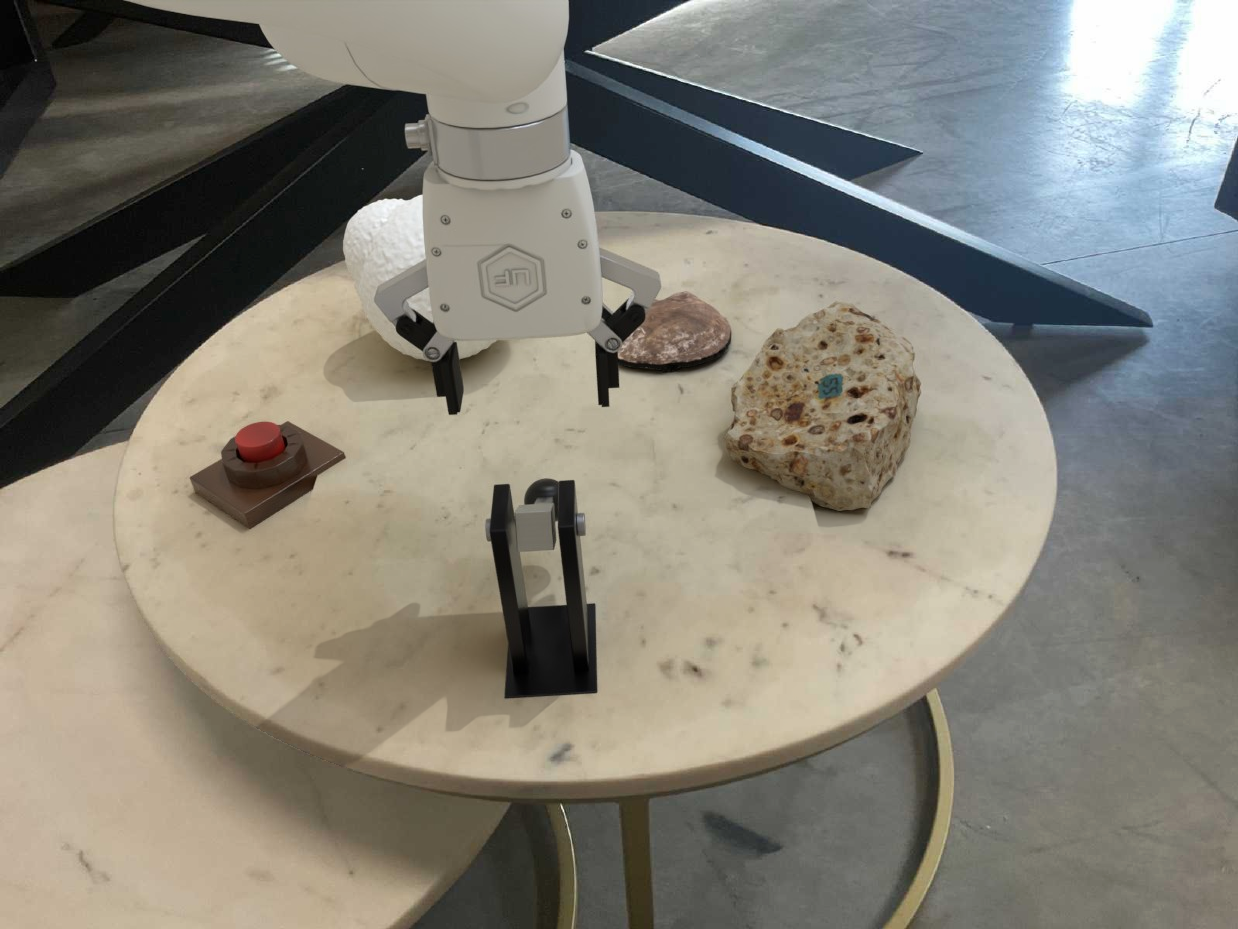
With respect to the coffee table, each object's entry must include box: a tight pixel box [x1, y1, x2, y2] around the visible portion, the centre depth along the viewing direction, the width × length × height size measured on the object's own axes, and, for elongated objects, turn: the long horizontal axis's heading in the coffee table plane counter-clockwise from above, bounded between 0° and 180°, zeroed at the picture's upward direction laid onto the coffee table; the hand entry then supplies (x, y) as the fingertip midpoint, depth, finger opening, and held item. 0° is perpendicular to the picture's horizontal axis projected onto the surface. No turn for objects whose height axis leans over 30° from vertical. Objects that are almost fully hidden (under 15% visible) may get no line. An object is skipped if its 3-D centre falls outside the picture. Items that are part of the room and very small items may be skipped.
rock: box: [723, 300, 922, 512], centre depth 87 cm, size 21×14×10 cm
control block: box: [189, 420, 346, 530], centre depth 86 cm, size 10×8×4 cm
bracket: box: [484, 479, 598, 700], centre depth 66 cm, size 8×6×14 cm
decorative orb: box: [310, 168, 498, 362], centre depth 99 cm, size 20×18×16 cm
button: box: [234, 421, 285, 463], centre depth 85 cm, size 4×4×2 cm
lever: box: [514, 477, 559, 553], centre depth 68 cm, size 13×3×3 cm
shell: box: [618, 290, 732, 373], centre depth 101 cm, size 12×13×4 cm
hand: (530, 399), depth 67 cm, fingers open, 9 cm apart
